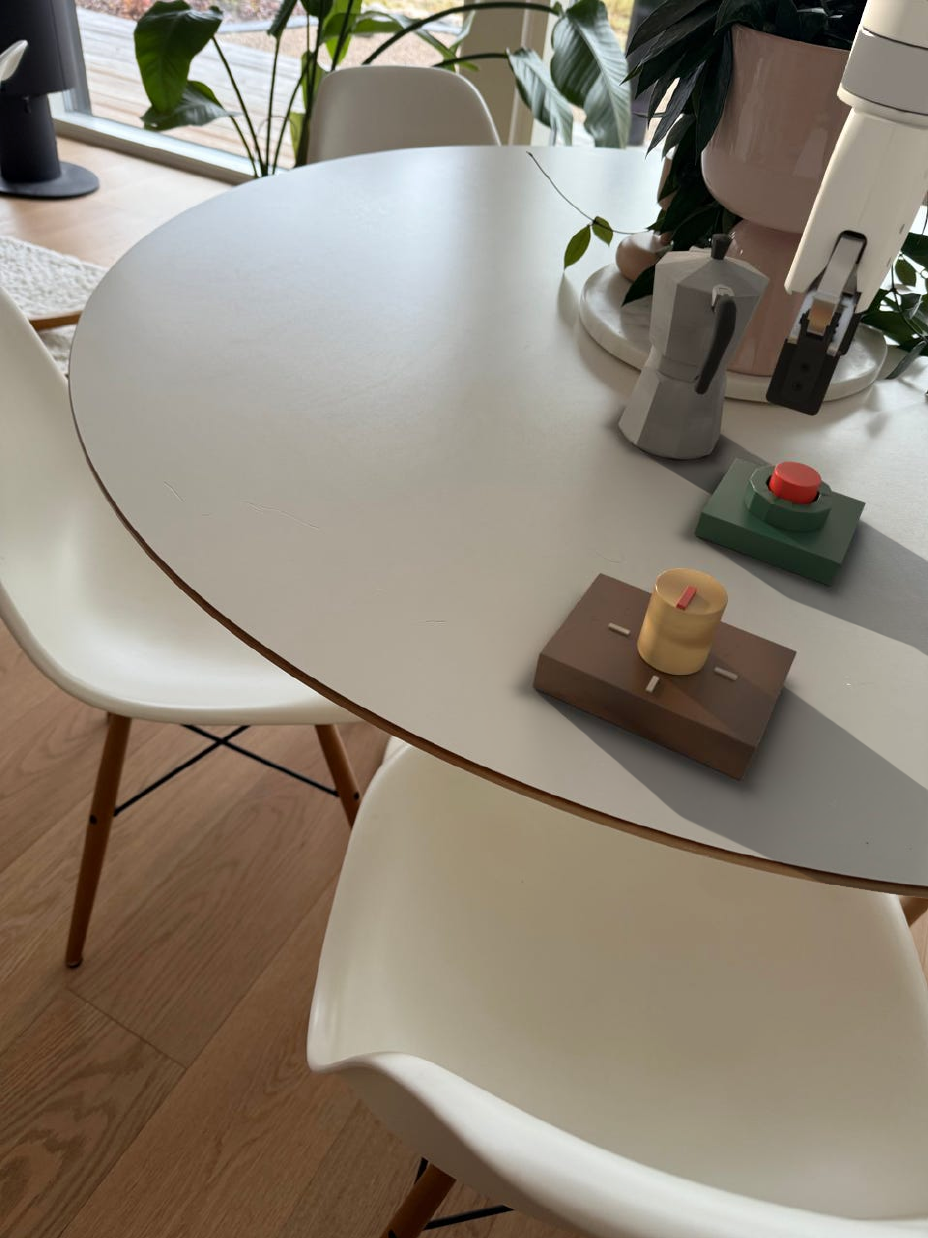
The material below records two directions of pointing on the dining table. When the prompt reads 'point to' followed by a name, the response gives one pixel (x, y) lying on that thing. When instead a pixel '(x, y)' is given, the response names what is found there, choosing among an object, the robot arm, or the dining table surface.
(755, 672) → the panel
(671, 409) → the coffeepot
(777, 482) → the button
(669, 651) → the dial
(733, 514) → the button box
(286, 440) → the dining table surface
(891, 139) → the robot arm
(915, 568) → the dining table surface
